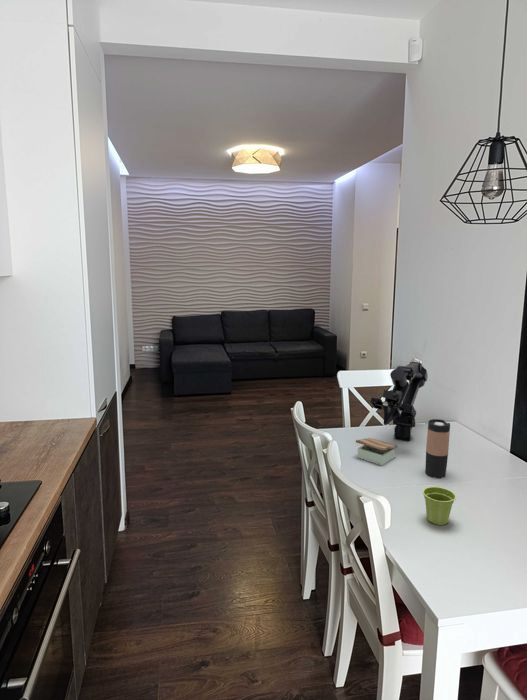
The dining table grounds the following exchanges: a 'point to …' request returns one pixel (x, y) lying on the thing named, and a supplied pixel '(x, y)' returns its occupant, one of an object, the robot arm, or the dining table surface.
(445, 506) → the plant pot
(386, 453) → the pale green open box
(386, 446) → the lid
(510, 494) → the dining table surface
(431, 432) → the travel mug
